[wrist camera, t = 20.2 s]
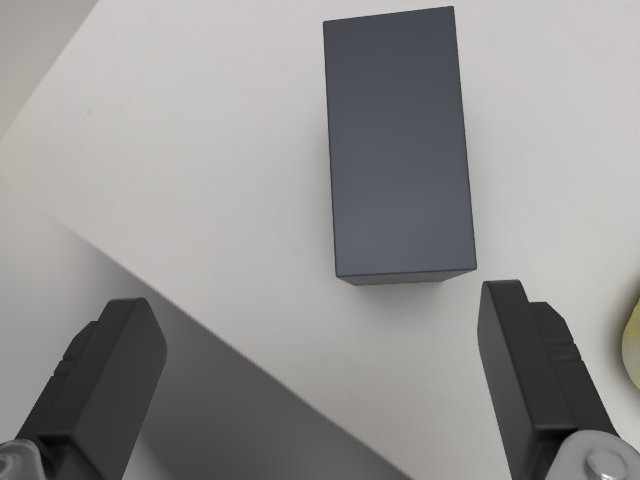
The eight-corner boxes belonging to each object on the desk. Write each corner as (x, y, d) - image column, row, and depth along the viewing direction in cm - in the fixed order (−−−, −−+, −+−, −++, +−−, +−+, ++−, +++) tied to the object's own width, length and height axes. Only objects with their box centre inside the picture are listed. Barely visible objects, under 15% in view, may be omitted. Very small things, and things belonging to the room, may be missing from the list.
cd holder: (446, 280, 27) (481, 269, 17) (351, 285, 28) (332, 277, 18) (432, 107, 28) (457, 4, 18) (341, 116, 29) (319, 20, 19)
